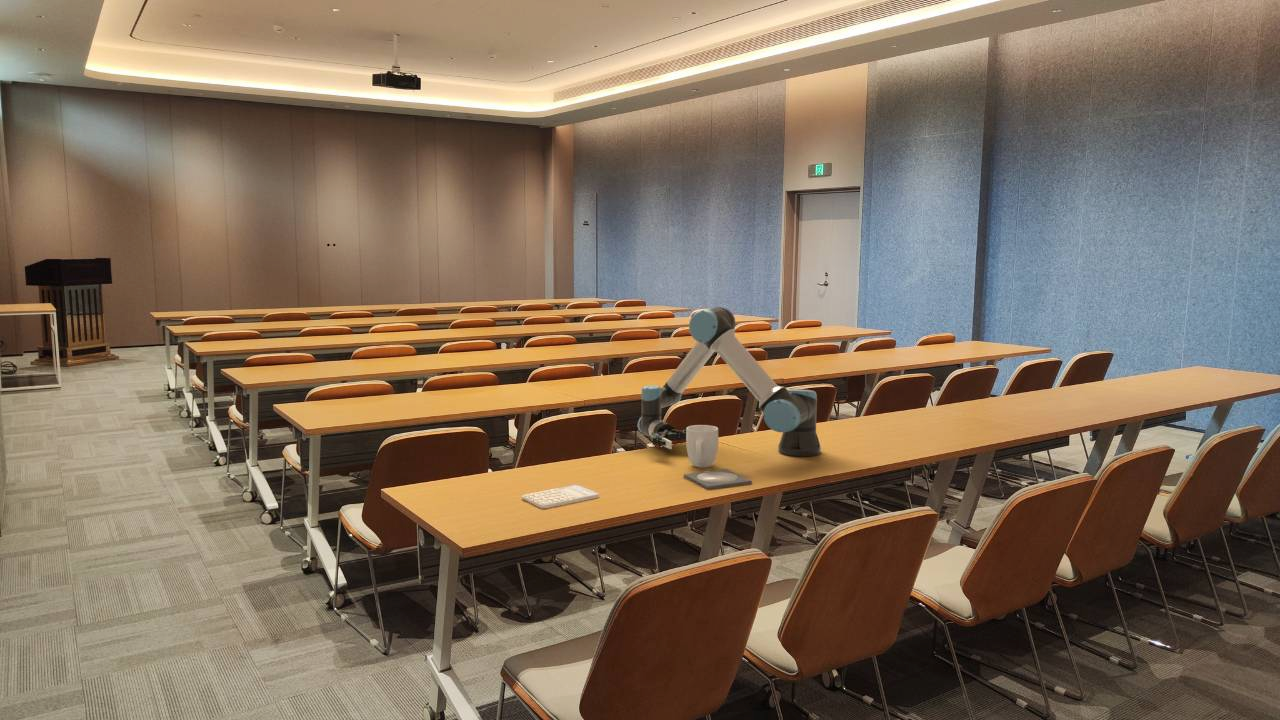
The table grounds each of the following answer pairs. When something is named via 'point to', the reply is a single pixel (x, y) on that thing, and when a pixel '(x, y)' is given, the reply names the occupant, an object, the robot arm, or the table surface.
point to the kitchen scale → (717, 479)
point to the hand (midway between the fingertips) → (688, 443)
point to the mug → (702, 445)
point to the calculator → (560, 496)
